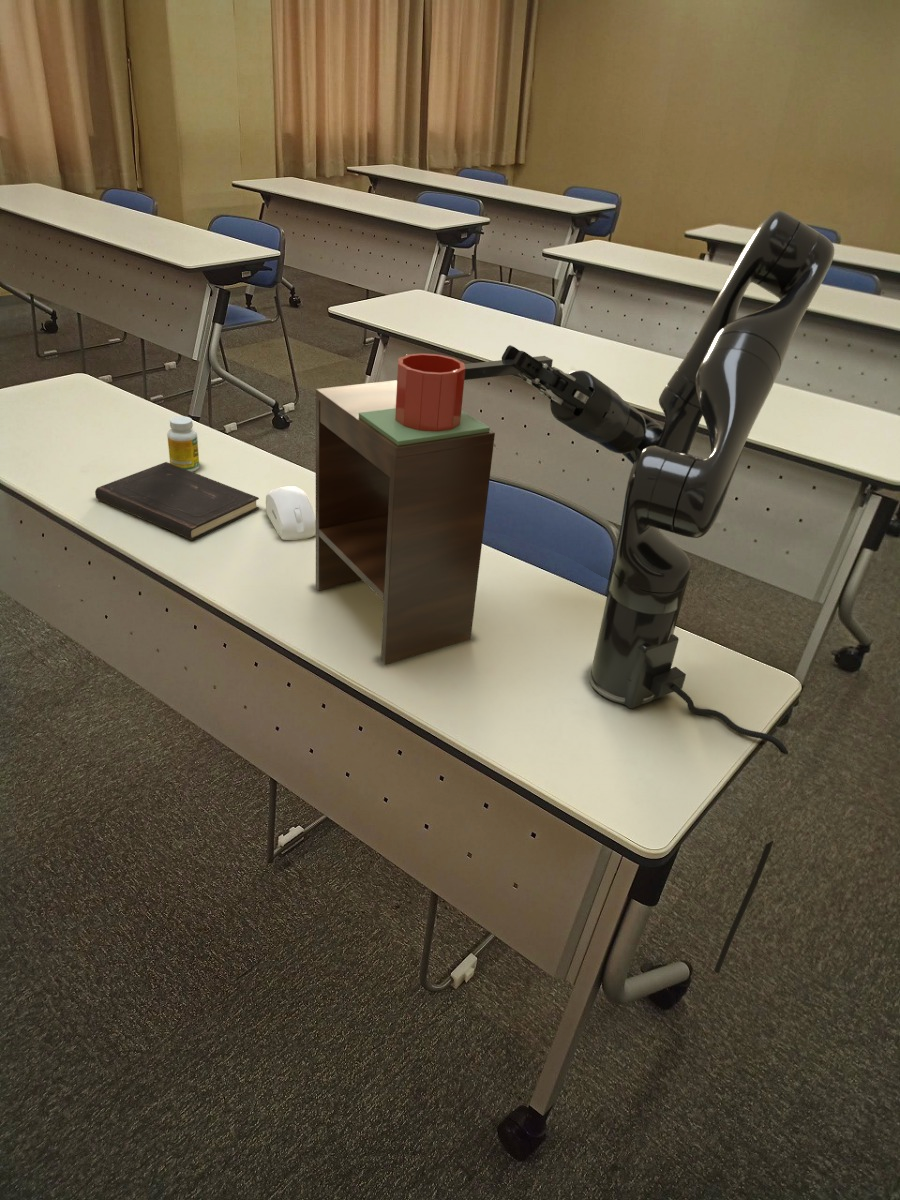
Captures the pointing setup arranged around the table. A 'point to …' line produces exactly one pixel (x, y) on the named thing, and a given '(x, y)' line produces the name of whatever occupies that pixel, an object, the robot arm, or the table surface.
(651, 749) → the table surface
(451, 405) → the pot
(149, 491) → the hardcover book
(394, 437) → the green flat slab
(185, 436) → the supplement bottle
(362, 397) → the shelf
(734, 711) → the table surface
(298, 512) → the computer mouse
